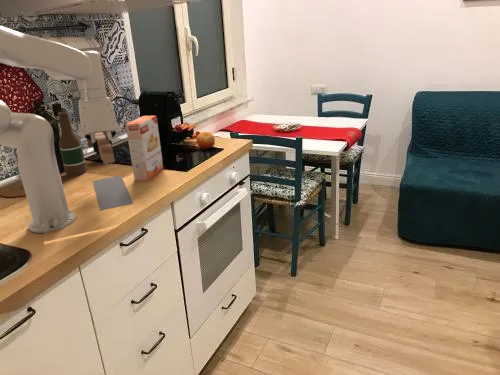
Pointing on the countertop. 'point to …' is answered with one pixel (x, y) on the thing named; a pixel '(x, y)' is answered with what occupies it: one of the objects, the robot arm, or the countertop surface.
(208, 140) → the fruit
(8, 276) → the countertop surface
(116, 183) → the mat
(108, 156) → the bar
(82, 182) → the countertop surface
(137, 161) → the cracker box
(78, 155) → the beer bottle
